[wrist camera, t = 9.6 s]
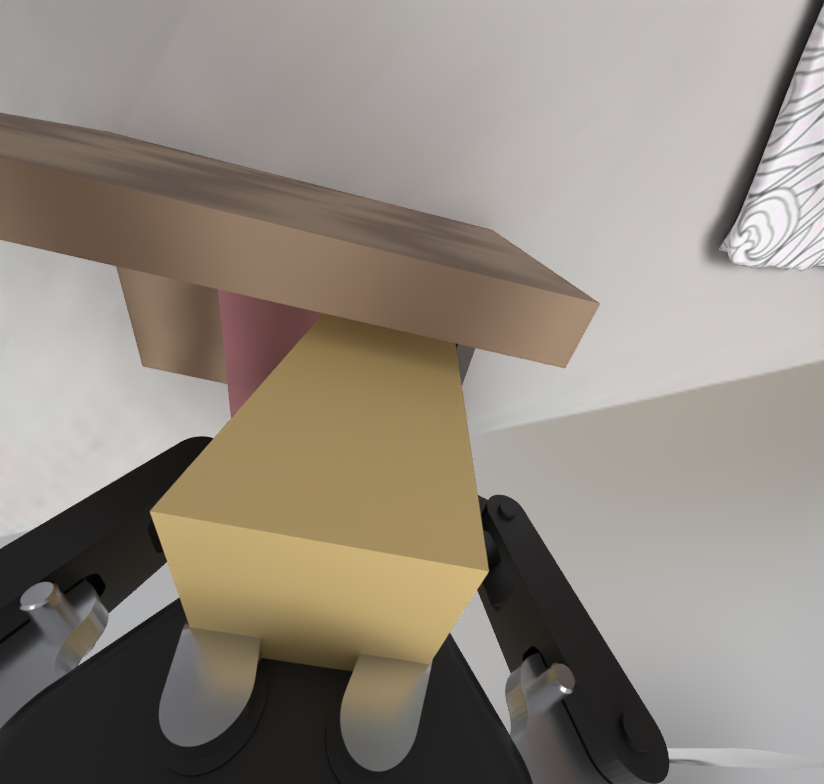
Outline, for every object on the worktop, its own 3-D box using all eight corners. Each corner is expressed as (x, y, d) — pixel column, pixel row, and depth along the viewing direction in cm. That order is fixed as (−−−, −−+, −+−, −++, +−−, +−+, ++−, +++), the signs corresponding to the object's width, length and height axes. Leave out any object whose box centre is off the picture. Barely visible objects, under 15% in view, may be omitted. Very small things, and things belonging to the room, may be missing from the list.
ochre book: (351, 407, 22) (228, 737, 9) (372, 257, 17) (148, 511, 4) (407, 418, 23) (370, 755, 9) (445, 274, 17) (489, 571, 4)
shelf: (157, 357, 25) (-108, 519, 13) (105, 131, 18) (-647, -2, 5) (433, 415, 27) (434, 609, 14) (492, 230, 19) (600, 303, 7)
